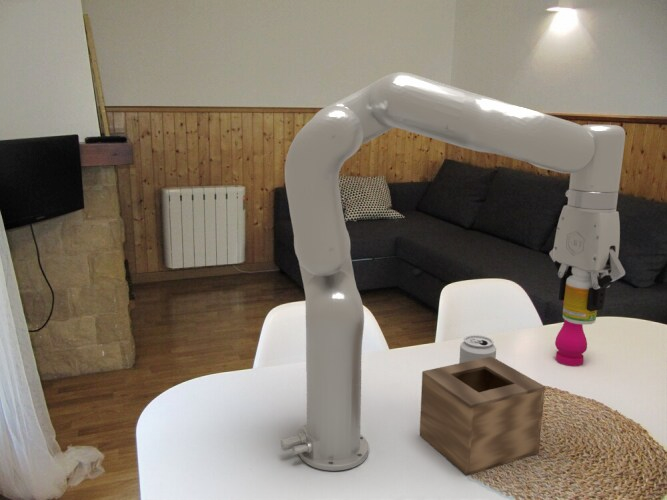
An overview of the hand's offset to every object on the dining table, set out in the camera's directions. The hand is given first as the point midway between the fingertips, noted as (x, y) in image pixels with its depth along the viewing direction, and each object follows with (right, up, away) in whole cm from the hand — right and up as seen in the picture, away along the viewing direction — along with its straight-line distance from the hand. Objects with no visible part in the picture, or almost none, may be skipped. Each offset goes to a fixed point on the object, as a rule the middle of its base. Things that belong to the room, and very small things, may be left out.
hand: (580, 303), depth 102 cm
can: (-12, -22, +27) cm, 36 cm away
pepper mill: (+15, -18, +42) cm, 48 cm away
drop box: (-16, -26, +6) cm, 32 cm away
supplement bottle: (0, -3, +1) cm, 3 cm away
